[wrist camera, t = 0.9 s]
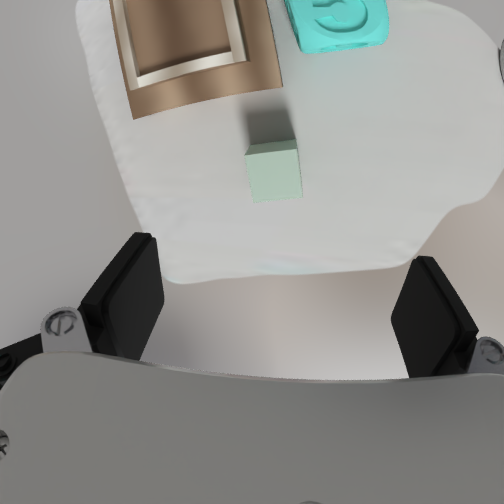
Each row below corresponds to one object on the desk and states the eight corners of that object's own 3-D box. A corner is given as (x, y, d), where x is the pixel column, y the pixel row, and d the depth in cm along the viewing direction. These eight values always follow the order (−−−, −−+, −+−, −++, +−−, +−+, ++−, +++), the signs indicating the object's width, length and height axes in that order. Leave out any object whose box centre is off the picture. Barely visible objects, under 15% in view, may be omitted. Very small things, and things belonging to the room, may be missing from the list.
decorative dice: (354, -17, 21) (371, -41, 14) (373, 47, 24) (397, 39, 18) (280, -8, 22) (277, -33, 16) (300, 56, 26) (303, 48, 20)
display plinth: (254, -47, 20) (245, -72, 14) (282, 86, 28) (281, 88, 23) (120, -7, 23) (88, -17, 17) (145, 115, 31) (115, 126, 26)
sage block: (295, 139, 31) (296, 148, 27) (301, 181, 34) (302, 197, 30) (250, 144, 32) (244, 155, 28) (258, 186, 35) (253, 203, 31)
